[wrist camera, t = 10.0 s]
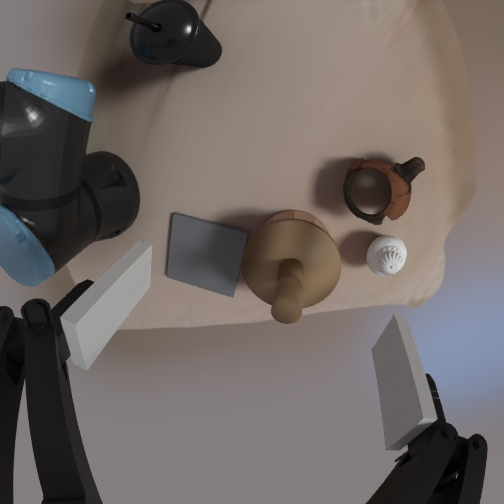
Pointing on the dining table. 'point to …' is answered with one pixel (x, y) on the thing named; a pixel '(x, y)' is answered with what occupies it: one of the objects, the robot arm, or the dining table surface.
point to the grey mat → (205, 254)
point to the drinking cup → (172, 36)
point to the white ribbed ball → (386, 255)
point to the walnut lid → (291, 266)
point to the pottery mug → (398, 185)
